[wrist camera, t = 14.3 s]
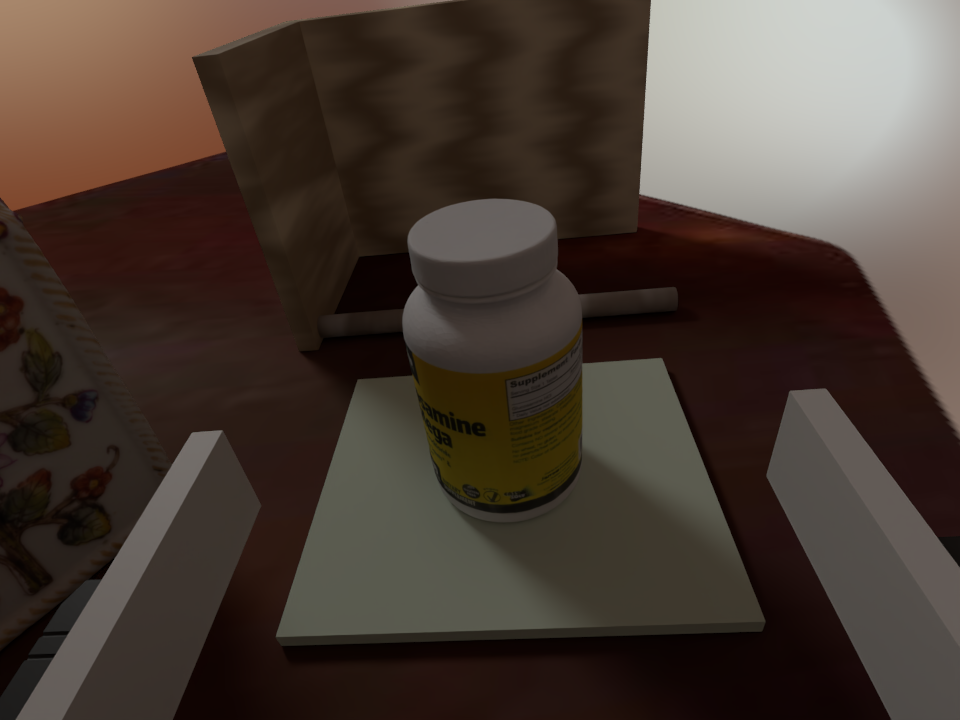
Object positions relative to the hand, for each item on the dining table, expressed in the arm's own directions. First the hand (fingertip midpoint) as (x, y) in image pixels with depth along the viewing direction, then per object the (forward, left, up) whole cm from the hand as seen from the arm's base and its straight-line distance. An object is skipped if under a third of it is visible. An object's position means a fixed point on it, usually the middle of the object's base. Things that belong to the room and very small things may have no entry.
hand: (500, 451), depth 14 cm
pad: (0, +7, -9) cm, 11 cm away
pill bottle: (0, +7, -8) cm, 11 cm away
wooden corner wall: (-2, +25, -9) cm, 26 cm away
